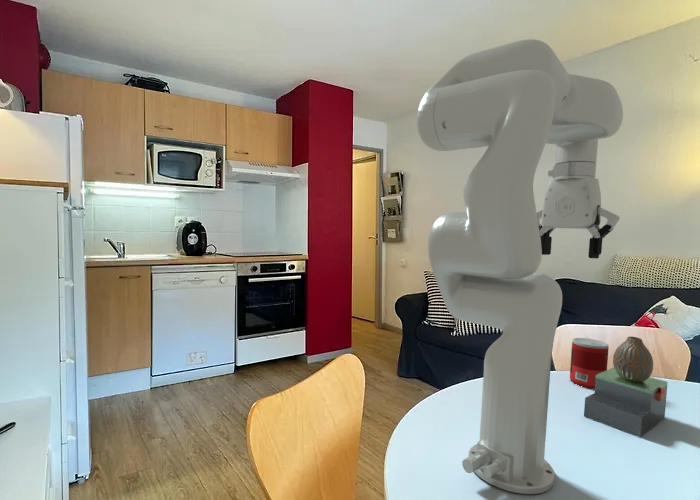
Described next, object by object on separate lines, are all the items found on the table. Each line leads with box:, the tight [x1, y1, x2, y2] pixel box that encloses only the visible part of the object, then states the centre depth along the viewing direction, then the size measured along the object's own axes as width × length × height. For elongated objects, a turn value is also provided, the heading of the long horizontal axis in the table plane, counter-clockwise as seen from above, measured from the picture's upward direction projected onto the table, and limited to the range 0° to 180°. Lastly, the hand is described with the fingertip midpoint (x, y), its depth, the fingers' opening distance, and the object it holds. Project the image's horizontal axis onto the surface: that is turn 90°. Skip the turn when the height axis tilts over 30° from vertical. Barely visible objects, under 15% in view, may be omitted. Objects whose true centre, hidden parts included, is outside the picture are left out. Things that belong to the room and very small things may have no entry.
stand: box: [583, 366, 669, 438], centre depth 82 cm, size 14×11×8 cm
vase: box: [612, 336, 654, 382], centre depth 83 cm, size 7×7×9 cm
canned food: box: [569, 337, 609, 390], centre depth 102 cm, size 8×8×11 cm
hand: (568, 256), depth 83 cm, fingers open, 9 cm apart
